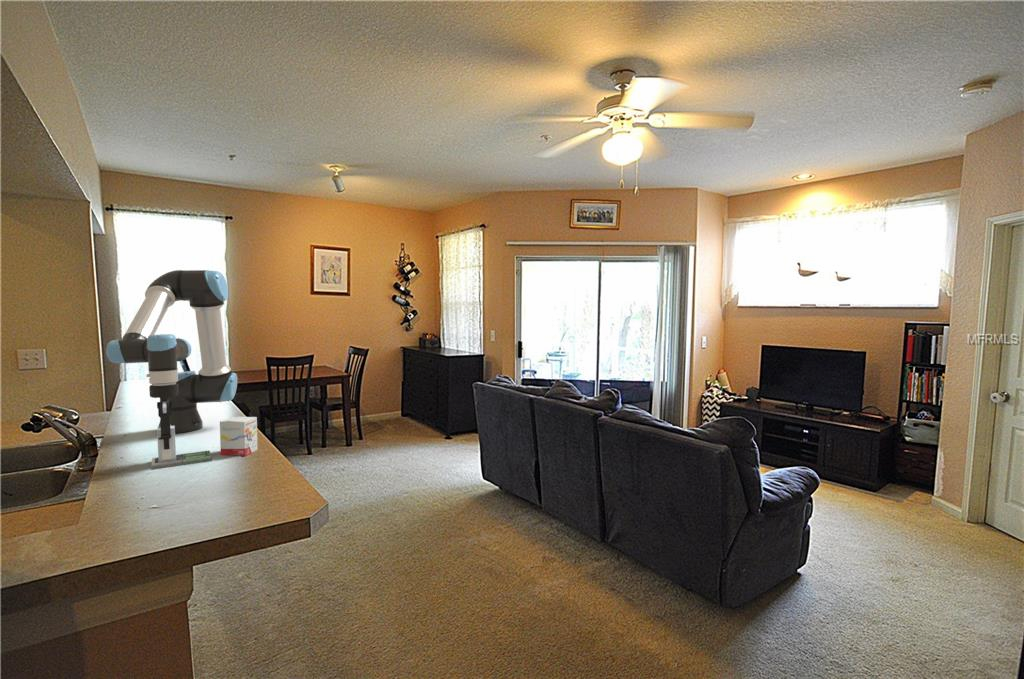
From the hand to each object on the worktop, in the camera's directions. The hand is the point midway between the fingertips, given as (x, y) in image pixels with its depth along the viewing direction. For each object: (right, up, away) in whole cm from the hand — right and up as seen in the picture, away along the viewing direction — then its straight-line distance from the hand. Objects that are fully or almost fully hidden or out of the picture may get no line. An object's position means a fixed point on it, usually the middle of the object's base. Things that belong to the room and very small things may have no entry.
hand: (167, 456), depth 162 cm
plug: (0, -2, 0) cm, 2 cm away
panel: (+3, -2, +2) cm, 4 cm away
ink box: (+16, -2, +12) cm, 20 cm away
